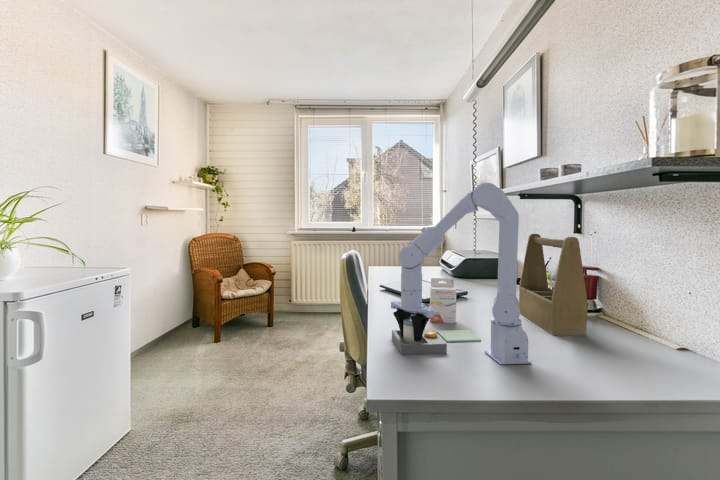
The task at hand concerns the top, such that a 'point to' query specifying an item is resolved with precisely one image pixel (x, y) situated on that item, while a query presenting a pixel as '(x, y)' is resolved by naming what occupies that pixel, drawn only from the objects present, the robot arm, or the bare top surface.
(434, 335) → the plunger
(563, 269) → the caddy
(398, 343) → the dock
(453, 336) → the mat
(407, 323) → the cylinder
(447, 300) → the ink cartridge box
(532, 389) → the top surface
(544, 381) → the top surface
